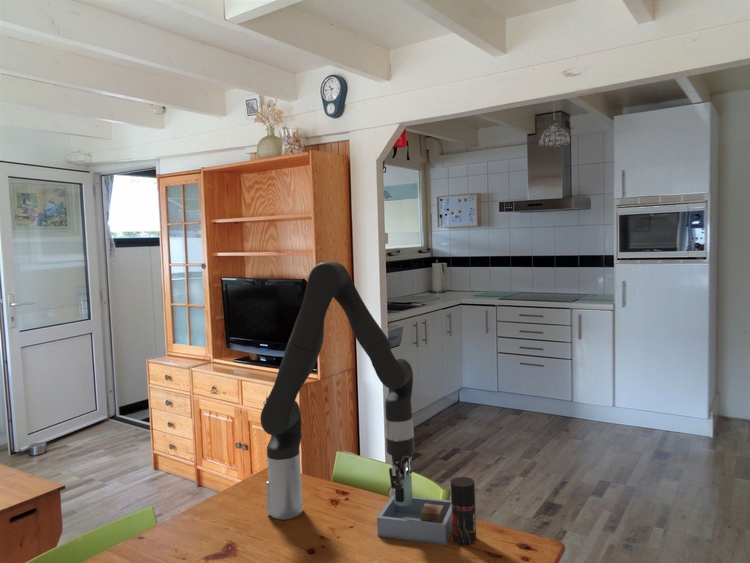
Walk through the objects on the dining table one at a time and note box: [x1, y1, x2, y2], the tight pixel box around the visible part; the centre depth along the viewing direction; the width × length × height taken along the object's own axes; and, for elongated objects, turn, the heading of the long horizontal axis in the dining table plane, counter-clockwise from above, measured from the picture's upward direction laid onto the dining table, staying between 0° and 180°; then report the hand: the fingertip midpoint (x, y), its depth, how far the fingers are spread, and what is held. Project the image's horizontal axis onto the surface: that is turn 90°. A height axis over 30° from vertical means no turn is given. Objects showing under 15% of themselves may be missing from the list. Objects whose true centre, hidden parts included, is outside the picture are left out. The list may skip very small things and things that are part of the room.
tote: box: [376, 494, 453, 546], centre depth 147 cm, size 18×14×5 cm
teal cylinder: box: [392, 473, 413, 506], centre depth 148 cm, size 5×5×7 cm
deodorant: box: [450, 476, 477, 547], centre depth 140 cm, size 6×6×15 cm
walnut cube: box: [420, 503, 444, 523], centre depth 146 cm, size 5×5×5 cm
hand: (402, 496), depth 148 cm, fingers closed on teal cylinder, 5 cm apart
